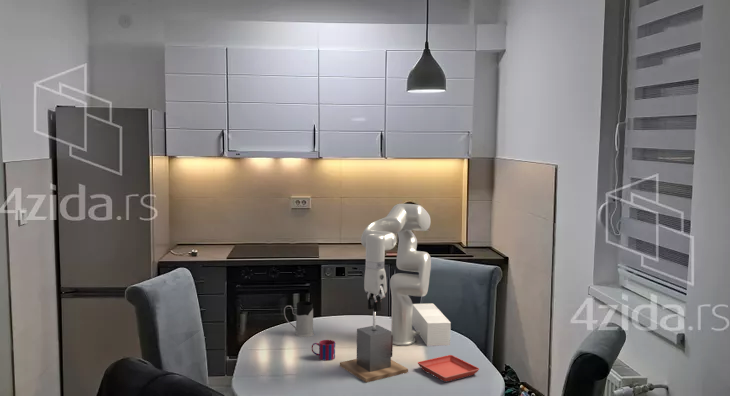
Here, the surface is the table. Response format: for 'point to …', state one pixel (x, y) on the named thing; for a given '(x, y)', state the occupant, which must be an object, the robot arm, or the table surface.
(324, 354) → the mug
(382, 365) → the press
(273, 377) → the table surface
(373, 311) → the plunger
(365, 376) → the board
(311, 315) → the grey and black pitcher
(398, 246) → the robot arm
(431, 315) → the white rectangular block
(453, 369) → the plant saucer
